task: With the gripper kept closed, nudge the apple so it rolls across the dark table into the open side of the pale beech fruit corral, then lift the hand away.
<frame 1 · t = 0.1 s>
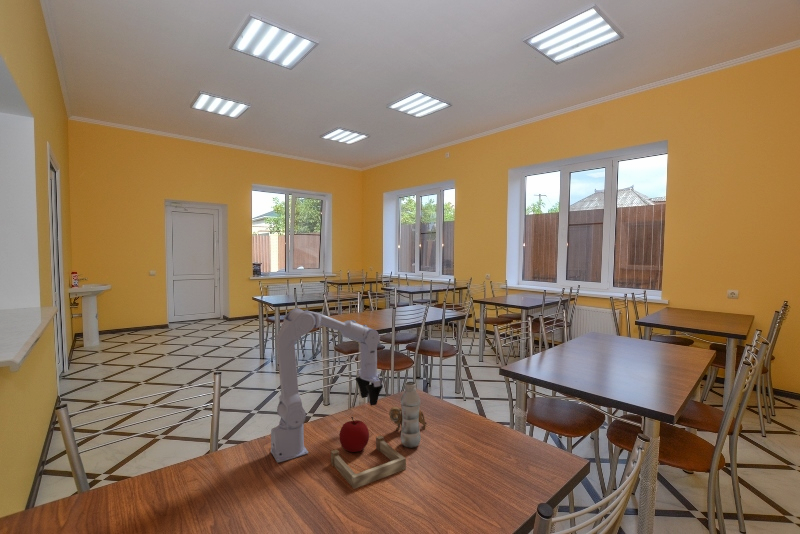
hand: (368, 400, 131), 10 cm above the table, tool pointing down, fingers open, 7 cm apart
lion figurine: (407, 430, 131), on the table
corral: (368, 466, 109), on the table
plastic bottle: (410, 445, 121), on the table
apple: (354, 449, 119), on the table
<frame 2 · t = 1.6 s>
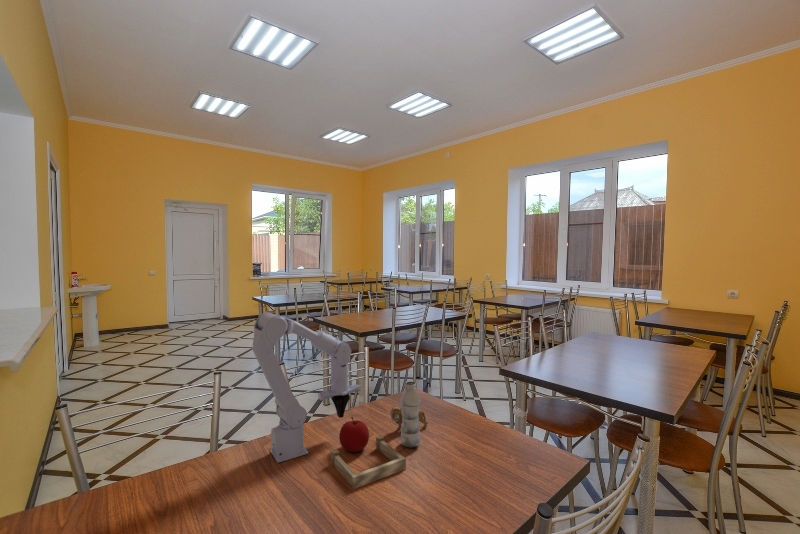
hand: (340, 416, 127), 7 cm above the table, tool pointing down, fingers closed
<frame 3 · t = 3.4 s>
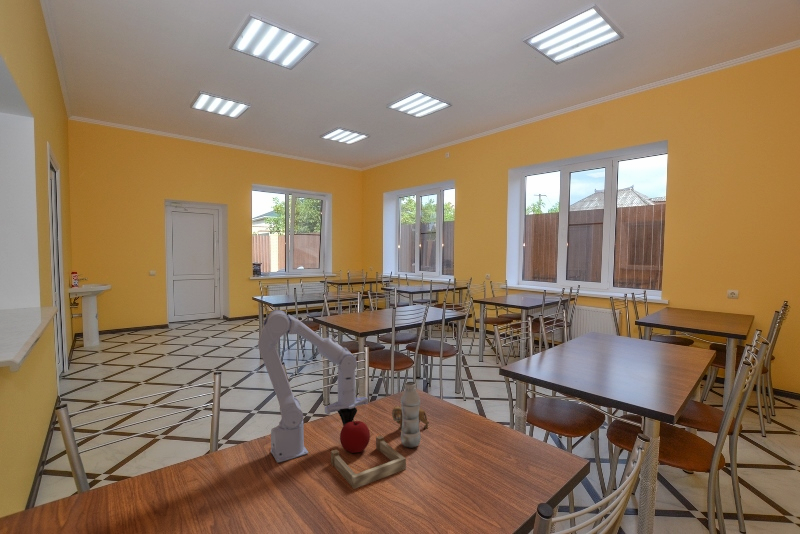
hand: (347, 430, 123), 4 cm above the table, tool pointing down, fingers closed, pressing on apple
apple: (355, 450, 118), on the table, touching gripper
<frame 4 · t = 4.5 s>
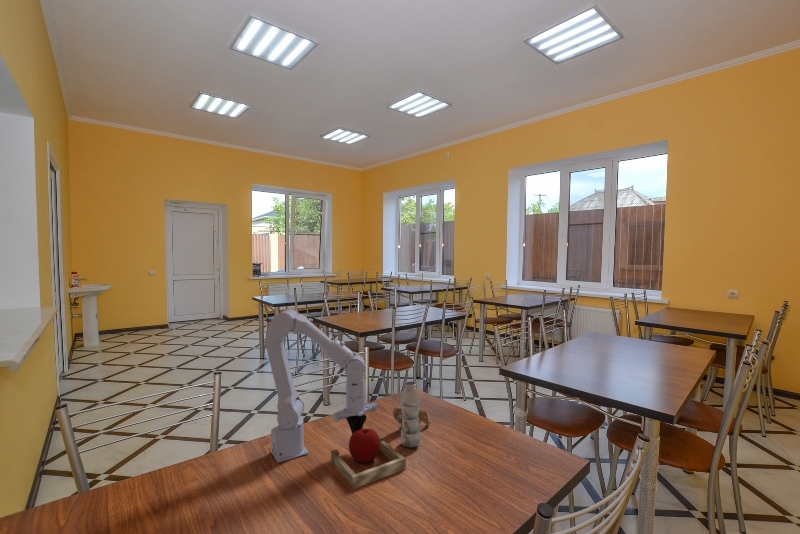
hand: (356, 437, 117), 4 cm above the table, tool pointing down, fingers closed, pressing on apple
apple: (364, 459, 113), on the table, touching gripper
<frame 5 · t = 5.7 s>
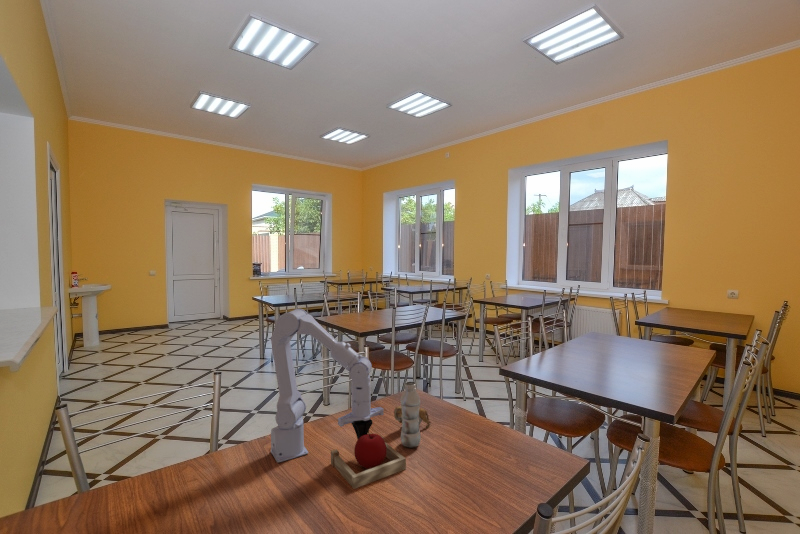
hand: (361, 443, 114), 4 cm above the table, tool pointing down, fingers closed, pressing on apple
apple: (370, 465, 110), on the table, touching gripper
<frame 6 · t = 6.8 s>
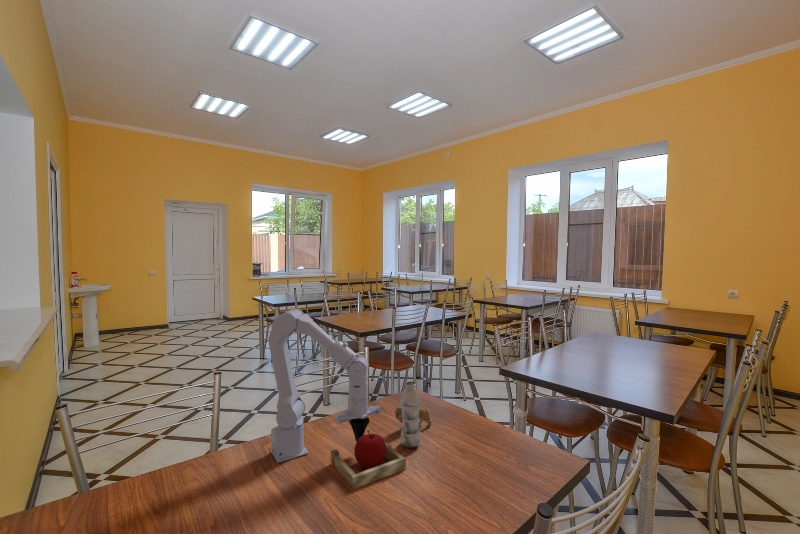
hand: (358, 441, 116), 4 cm above the table, tool pointing down, fingers closed
apple: (370, 465, 110), on the table
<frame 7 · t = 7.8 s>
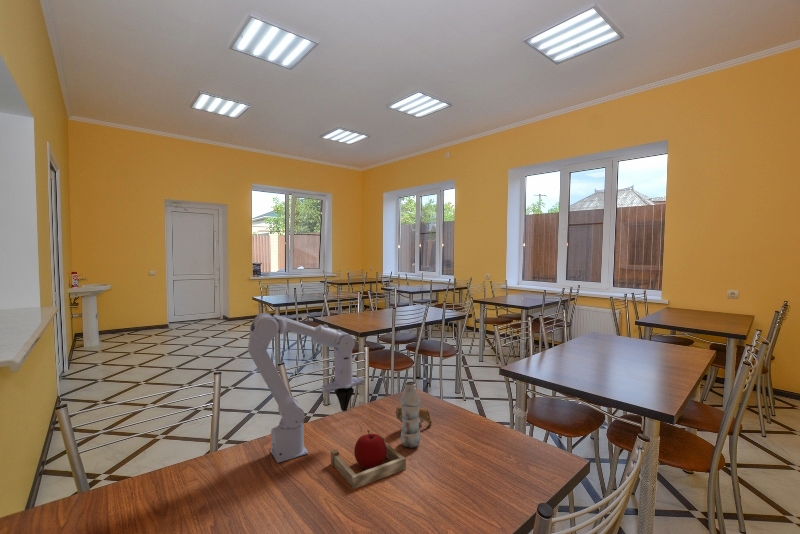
hand: (344, 410, 124), 10 cm above the table, tool pointing down, fingers closed
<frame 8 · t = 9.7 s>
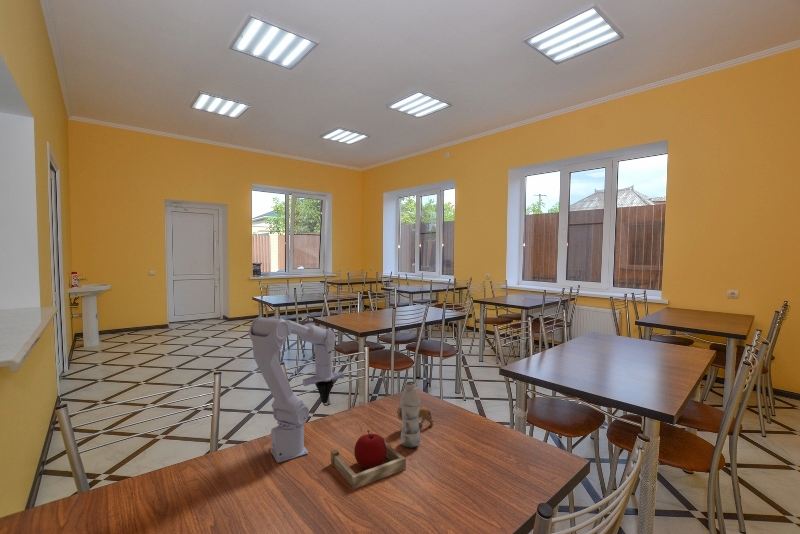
hand: (324, 402, 131), 10 cm above the table, tool pointing down, fingers closed
at the end: apple inside the target area on the corral (0.9 cm from its centre), point 0.0 cm above the corral's base; apple moved 10.7 cm from its start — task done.
